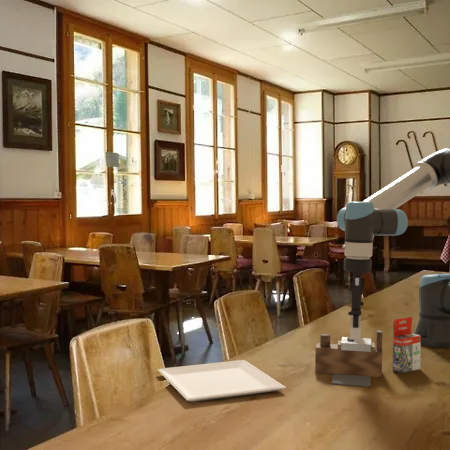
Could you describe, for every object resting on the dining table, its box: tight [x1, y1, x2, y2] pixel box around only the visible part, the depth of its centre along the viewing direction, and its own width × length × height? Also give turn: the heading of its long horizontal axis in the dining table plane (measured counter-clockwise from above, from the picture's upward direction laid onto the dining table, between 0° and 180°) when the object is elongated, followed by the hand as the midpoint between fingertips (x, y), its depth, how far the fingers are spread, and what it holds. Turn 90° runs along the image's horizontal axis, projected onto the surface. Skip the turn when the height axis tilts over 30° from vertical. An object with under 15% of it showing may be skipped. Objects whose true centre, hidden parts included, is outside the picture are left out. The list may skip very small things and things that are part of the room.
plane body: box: [314, 329, 383, 378], centre depth 172 cm, size 18×5×12 cm, turn 77°
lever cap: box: [341, 336, 372, 352], centre depth 171 cm, size 8×7×3 cm
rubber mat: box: [331, 373, 372, 388], centre depth 164 cm, size 10×8×1 cm
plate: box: [157, 359, 286, 402], centre depth 161 cm, size 26×26×2 cm
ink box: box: [391, 316, 422, 374], centre depth 174 cm, size 4×8×15 cm, turn 124°
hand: (355, 333), depth 171 cm, fingers open, 13 cm apart
